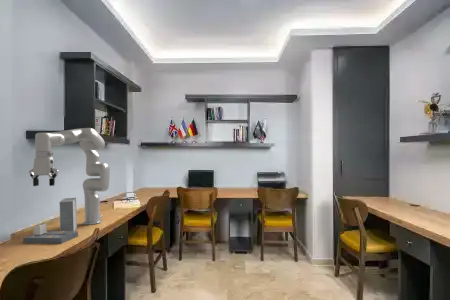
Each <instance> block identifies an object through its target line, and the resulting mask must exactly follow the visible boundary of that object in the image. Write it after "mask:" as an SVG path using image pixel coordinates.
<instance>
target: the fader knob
mask: <svg viewBox="0 0 450 300" xmlns="http://www.w3.org/2000/svg"><path fill="white" fill-rule="evenodd" d="M47 226H48V224H47V223H44V222H43V223H39V224H36V225H33V234H34V235H41V234H44V233H47V231H48V229H47Z"/></svg>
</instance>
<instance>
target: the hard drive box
mask: <svg viewBox="0 0 450 300" xmlns="http://www.w3.org/2000/svg"><path fill="white" fill-rule="evenodd" d="M77 228H78V214H77V197H69V198H68V197H67V198H62V200H59V231H77Z"/></svg>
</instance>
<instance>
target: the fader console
mask: <svg viewBox="0 0 450 300" xmlns="http://www.w3.org/2000/svg"><path fill="white" fill-rule="evenodd" d="M78 237H79V231H78V230H75V231H60V230H47V233H44V234H41V235H34V233H33V234H30V235H27V236H24V237H23V238H22V239H23V240H22V243H23V244H64V243H66V242H68V241H70V240H73V239H76V238H78Z"/></svg>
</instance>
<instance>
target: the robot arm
mask: <svg viewBox="0 0 450 300" xmlns="http://www.w3.org/2000/svg"><path fill="white" fill-rule="evenodd" d="M34 136H35V137H34V142H35V153H34V154H35V157H34V161H33V167H32V169H30V170H29V171H28V174H29V177H31V179H32V186H33V187H37V186H38V187H39V185H40V183H39V181H40V180H39V176H48V177H49V179H48V182H49V185H48V186H49V187H51V186H53V187H54V186H55V181H56V177H57V176H58V174H59V171H60V170H59V169H57V168H56V167H55V166H56V165H55V160H54V157H52V156H53V154H54V153H53V152H52V147H60V146H63V145H68V144H69V145H71V144H74V143H78V142H79V146H80V148H81V149H82V151H83V152H84V153H85V157H86V163H85V164H86V165H85V173H86V175H87V176H89V177H90V178H86V179H84V180H83V183H82V189H83V194H84V221H82V225H84V226H87V225H89V226H90V225H91V226H92V225H97V224H101V223H103V220H102V219H101V218H103V215H102V214H100V196H99V194H98V192H101V193H102V192H107V191H108V189H109V187H110V177H111V176H110V174H111V173H110V166H109V164H108V163H106V162H100V154H99V153H98V151H101V150H103V149H105V146H106V144H105V143H106V141H105V140H104V138H103V137H102V136H101V135H100V134H99V132H98V131H97V130H96V129H94V128H91V127H84V128H83V127H82V128H74V129H67V130H60V131H54V132H37V133H35V135H34ZM92 177H93V178H92Z"/></svg>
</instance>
